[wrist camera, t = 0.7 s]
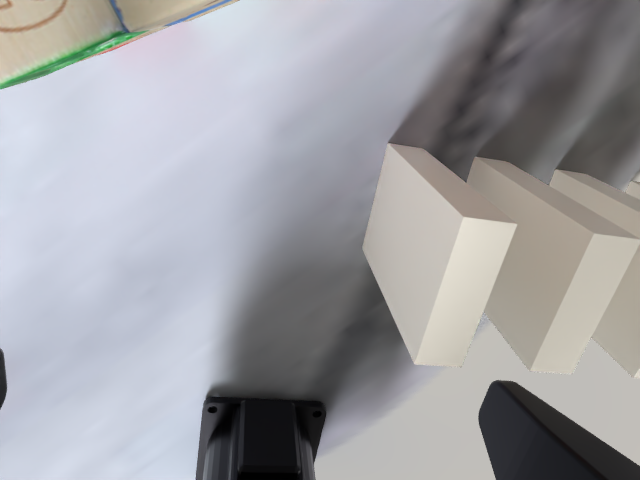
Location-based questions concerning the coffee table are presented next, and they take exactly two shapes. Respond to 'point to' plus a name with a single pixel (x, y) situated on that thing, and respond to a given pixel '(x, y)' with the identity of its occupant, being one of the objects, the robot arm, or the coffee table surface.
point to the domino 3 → (636, 284)
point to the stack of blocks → (80, 30)
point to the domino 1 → (433, 253)
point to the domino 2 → (550, 267)
